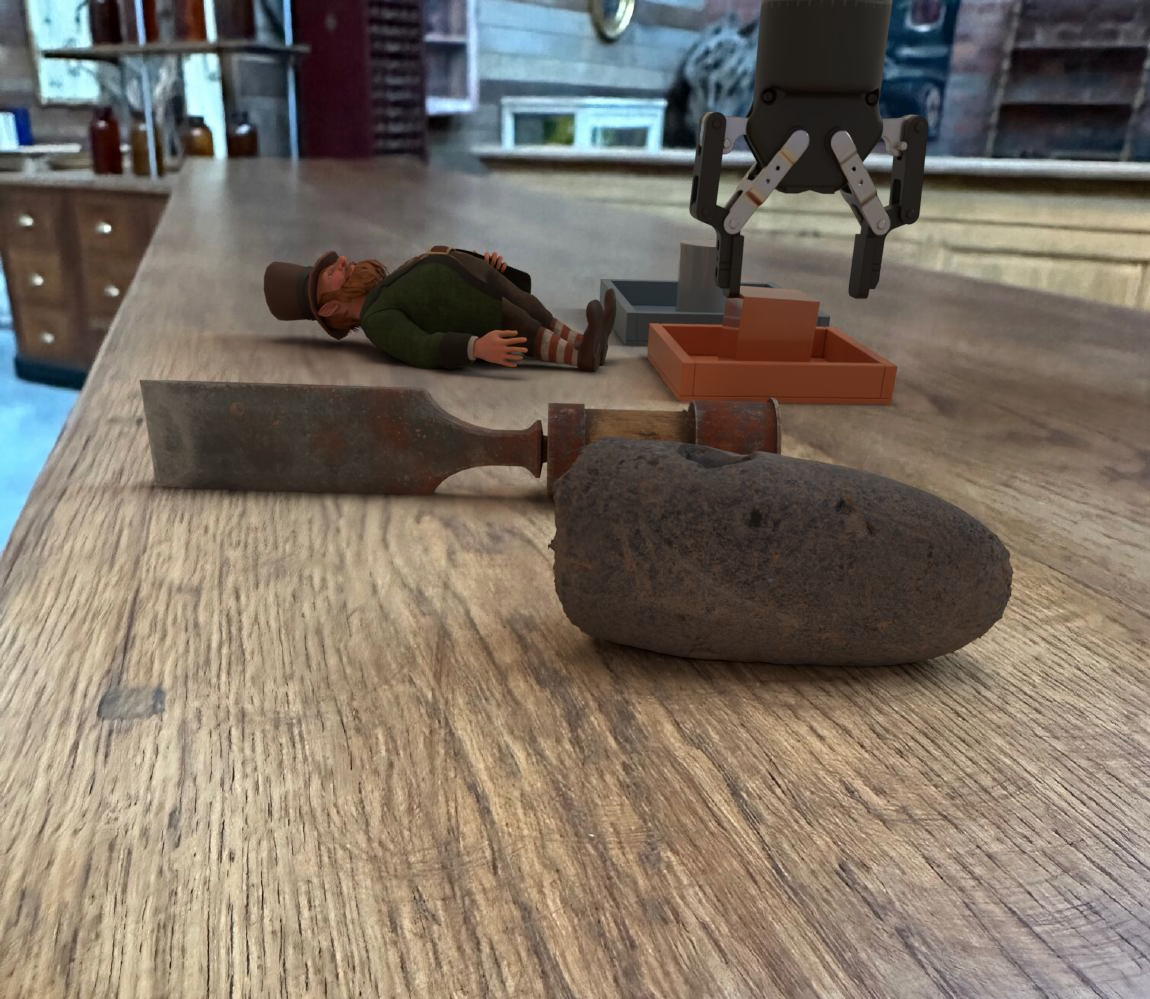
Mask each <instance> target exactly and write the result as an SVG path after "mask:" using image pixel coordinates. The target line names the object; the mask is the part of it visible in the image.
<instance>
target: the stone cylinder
mask: <svg viewBox="0 0 1150 999" xmlns="http://www.w3.org/2000/svg"><path fill="white" fill-rule="evenodd" d="M715 253H716V239H705V238H692V239H683V240H681V241H679V252H678V264H677V266H678V267H677V279H676V281H677V292H676V305H675V312H709V313H724V310H725V302H726V297H725V296H724V295H723V293H722V288H719V287H718V286H717V285H716V283H715V279H714V268H715Z"/></svg>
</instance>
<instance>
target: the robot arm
mask: <svg viewBox="0 0 1150 999" xmlns="http://www.w3.org/2000/svg"><path fill="white" fill-rule="evenodd" d="M892 7H893V0H760V9H759V23H758V37H757V46H756V47H757V48H756V57H755V58H756V59H755V72H754V82H753V96H752V102H751V106H750V108H749V110H748V111H747V114H746V116H736V115H735V116H733V115H725V114H723V113H722V112H720V111H706V112H705V111H704V113H703V114H701V116H700V117H699V120H698V128H697V135H696V136H697V138H696V146H695V153H694V154H695V155H694V165H693V172H692V179H691V190H690V200H689V207H688V210H689V215H690V216H691V217H692V218H693V219H694V220H696V221H699V222H701V223H703V224H706V225H708V226H710V227H712V228H713V230H714V231H715V234H716V239H715V240H716V253H715V268H714V279H715V283H716V285H717V286H718V287H719V288H722V293H723V295H724V296H725V297H726V298H739V294H740V284H741V282H742V270H743V259H744V247H745V235H743V234H741V231H742V229H743V228H744V226H745V225H746V224H747V223H748V221H749V220H750V219H751V218H752V216H753V215H754V214H755V212H756V211H757V210H758V208H759V207H760V206H762V205H763V204H764V203H765V202H766V201H767V200H768V198H769V197H770V196H771V195H772V193H773V192H774V190H776V191H777V192H779V193H782V194H785V195H786V194H787V195H789V194H790V195H791V194H792V195H798V194H801V193H802V194H803V193H806V192H809V191H810V192H814V193H818V194H820V195H821V194H822V195H835V194H836V193H837V192H838V191H839V193H840V195H841V196H842V198H843V200H844V201H845V202H846V204H848V206H849V207H850V209H851V211H852V213H853V215H854V217H855V219H856V221H857V223H858V224H859V226H860V230H859V231H860V232H859V233H855V235H854V241H853V251H852V257H851V266H850V274H849V281H848V289H847V290H848V296H849V297H851V298H853V299H855V300H867V299H868V297H869V295H870V290H876V288H877V286H878V284H879V282H880V277H881V276H880V275H881V270H882V263H883V255H884V248H885V243H886V239H887V236H888V234H889V233H890V232H891V231H893V230H895V229H898V228H900V227H902V226H905V225H907V226H908V225H913V224H915V223H916V222H917V221H918V220H919V218H920V215H921V204H922V195H923V185H924V175H925V166H926V165H925V164H926V156H927V155H926V154H927V145H928V135H929V120H928V119H927V117H925V116H924V115H919V114H905V115H902V116H901V117H898V118H897V117H896V118H882V115H881V112H880V104H879V103H880V102H879V101H880V95H881V91H882V84H883V83H882V82H883V75H884V67H885V59H886V52H887V45H888V36H889V29H890V24H891V23H890V22H891V14H892ZM741 136H743V139H744V141H745V143H746V145H747V146H748V149H749V150H750V153H751V155H752V156H753V158H754V160H755V161H754V163H753V164H752V166H750V168H749V169H748V171H747V172H746V173H745V175H744V176H743V178H742V179H741V180H740V182H739V183H738V184H737V186H736V189H735V191H734V193H733V194H732V195H731V196H730V198H729V199H728V200H727V202H726V203H725V204H724V205H723V207H722V206H721V205H719V204H717V203H718V195H719V187H720V180H721V171H722V163H723V155H724V156H725V155H728V154H730V153H731V152H732V151H733V149H734V147H735V144H736V141H737V140H738V138H740V137H741ZM881 139H882V140H883V141H884V144H885V151H886V153H887V154H888V155H889V156H890V157H892V164H891V165H892V166H891V174H890V186H889V187H890V188H889V198H888V205H885V206H884V204H883V203H882V201H881V200H880V198H879V196H878V190H877V188H876V186H875V184H874V181H873V180H872V178H871V176H870V174H869V172H868V170H867V168H866V166H865V164H864V162H865V160H866V159H867V158H868V156H869V155H870V154H871V153H872V151H873V150H874V148H875V147H876V146H877V144H878V143H879V142H880V141H881Z"/></svg>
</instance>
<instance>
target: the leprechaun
mask: <svg viewBox="0 0 1150 999" xmlns="http://www.w3.org/2000/svg"><path fill="white" fill-rule="evenodd" d="M503 259H504V256H502V255H498V252H497V251H493V252H492V254H490V253H489V252H488V251H485V252H484V254H481V253H478V251H477V250H476V249H474V250H467V249H461V248H454V247H452V246H451V247H449V246H447V245H433V246H430V247H429V248H428V249H427V251H426V252H424V253H422V254H418V255H417V256H416V255H415V256H414V257H412V258H411V257H410V258H409V259H408V260H406V261H404V262H403V263H402V264H400V265H399V266H398V267H396V268H395V269H394V270H393V271H392V272H391V273H390V272H389V268H388V267H387V266H386V265H384V264H383V263H381V262H380V261H379V260H377V259H371V258H369V259H365V260H362V261H361V260H360V261H358V262H356V261H349V262H348V259H347V257H346V256H344V255H340V256H339V255H338V253H337V252H336V251H335V250H330V251H326V252H325V253H324V254H322V255H321V256H320V257H318V258H317V259H316V262H315V263H314V265H313V266H312V265H307V266H305V265H300V264H297V263H291V262H284V261H272V262H271V263H270V264H269V265H267V267H266V268H265V272H264V275H263V294H264V298H265V303H266V305H267V308H268V310H269V312H270V314H271V315H273V317H274V318H275V319H276V320H278V321H280V322H281V321H282V322H293V321H311V322H314V321H317V323H318V325H319V326H320V327H321V328H322V329H323V330H324V331H325V333H326V334H327V335H328V336H330V337H331V338H334V339H335V340H336V341H341V340H342V339H344V338H346V337H347V336H349V334H353V332H354V333H355V334H359V333H361V331H362V332H363V334H364V335H365V337H366V338H367V339H368V340H369V341H370V342H371V343H372V344H373V345H374V346H376V347H377V348H379V349H381V350H382V351H384V352H386V353H387V354H389V356H391V357H392V358H394V359H397V360H399V361H401V362H404V363H406V364H408V365H410V366H411V367H414V368H417V369H442V368H445V369H448V370H457V369H460V368H462V367H465V366H468V365H472V364H474V363H475V361H476V360H477V359H481V360H483V361H486V362H489V363H492V364H498V365H502V366H505V367H509V368H516V367H517V363H515V362H512V361H513V360H514V361H521V360H523V358H524V357H523V356H526V357H528V358H532V359H535V358H536V359H537V360H540V361H544V362H548V363H549V362H550V363H555V364H564V365H569V366H572V367H577V369H579V370H582V371H585V372H593V373H595V372H597V371H598V370H599V369H600V366H603V365H604V364H605V362H606V359H607V354H608V350H609V344H608V342H609V338H610V335H611V333H612V331H613V330H614V328H613V326H614V322H615V317H616V296H615V291H614V289H613V288H610V289H608V290H607V291H606V293H605V296H604V311H603V308H602V305H601V303H600V300H598V299H591V301H589V302H588V303H587V305H586V308H585V316H586V321H587V326H586V328H585V330H584V332H583V333H579V332H578V331H575V330H573V329H572V328H570V326H567V324H565V323H563V322H562V321H561V320H560V319H558V318H556V317H554V316H553V314H552V312H551V311H550V310H549V309H547V308H546V307H545V305H544V304H543V303H542V302H541V301H540V300H539V298H538V297H536V296H535V295H533V294H532V277H531V275H530V274H529V272H526V271H523V270H521V269H518V268H515V267H513V266H510V265H508V263H507V262H506V261H504V260H503ZM359 329H361V330H359ZM514 353H520V354H522V355H523V356H522V355H518V354H514ZM509 360H510V361H509ZM511 360H512V361H511Z"/></svg>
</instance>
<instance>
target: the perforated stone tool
mask: <svg viewBox="0 0 1150 999" xmlns="http://www.w3.org/2000/svg"><path fill="white" fill-rule="evenodd" d="M553 492H554V495H553V498H552V500H553V502H554V505H555V509H554V526H555V529H556V530H555V535H554V536H553V539H551V540H550V543H549V542H548V544H547V551H549V550H550V549H551V550H552V551H553V554H554V556H553V559H554V562H553V565H552V570H553V575H554V579H553V583H554V591H555V594H556V595H557V597H558V601H559V603H561V606H562V611H563V613H564V614H565V617H566V618H567V619H568V621H569V622H570V623H571V625H572V626H574V627H576V628H578V629H579V631H580V632H581V633H583V634H584V635H585V634H586V636H589V637H592V638H596V639H600V640H603V641H608V642H611V643H615V644H619V645H623V646H627V647H628V646H629V647H633V648H637V649H641V650H646V651H647V650H649V651H652V652H654V653H658V654H663V655H667V656H675V657H679V658H680V657H681V658H687V659H697V660H709V661H715V660H723V661H729V662H740V663H769V664H771V665H801V666H802V665H814V666H815V665H816V666H823V667H824V666H826V667H827V666H828V667H833V666H834V667H839V666H841V667H842V666H843V667H878V666H894V665H903V664H911V663H919V662H923V661H927V660H930V659H931V660H932V659H935V658H940V657H943V656H946V655H949V654H952V653H954V652H956V651H958V650H960V649H963V648H965V647H966V646H968V645H969V644H971V643H972V642H974V641H976V640H978V639H982V637H983V636H984V635H986V634H987V633H988V632H989V630H991V629H992V628H993V627H994V625H995V624H996V623H997V622H999V621H1001V620H1002V619H1003V617H1004V616H1003V615H1004V613H1005V611H1006V608H1007V606H1008V603H1009V602H1010V598H1011V597H1012V592H1013V588H1012V585H1013V575H1014V567H1013V566H1012V565H1011V562H1010V559H1011V552H1010V550H1009V549H1008V548H1007V547H1006V546H1005V544H1004V542H1002V540H1001V539H1000V538H999V536H998V535H997V534H996V533H994V532H993V531H992V530H990V528H988V527H987V526H986V525H985V524H983V523H982V522H981V521H980V520H978V519H977V518H975V517H974V516H973V515H971V514H970V513H968V512H967V511H965V510H964V509H962V508H960V507H959V506H957V505H955V504H953V503H951V502H949V501H947V500H945V499H944V498H942V497H939V496H937V495H935V494H933V493H931V492H928V491H926V490H924V489H921V488H918V487H915V486H913V485H909V484H908V483H904V482H901V481H899V480H896V479H893V478H890V477H887V476H884V475H883V476H882V475H879V474H876V473H872V472H869V471H866V470H861V469H857V468H854V467H849V466H845V465H841V464H833V463H829V462H824V461H819V460H812V459H806V458H800V457H794V456H790V455H789V456H788V455H784V454H781V455H779V454H774V453H768V452H762V451H755V452H753V453H752V454H749V455H740V454H737V453H733V452H729V451H723V450H720V449H716V448H712V447H708V446H701V445H695V444H686V443H680V442H674V441H656V440H642V439H635V438H619V437H602V438H601V439H598V440H596V441H594V443H592V444H589V445H587V446H585V447H584V448H583V450H582V451H581V452H580V454H579V455H578V458H577V459H576V460H575V462H574V463H573V464H572V465H571V467H570V469H569V470H568V471H567V472H566V473H564V474H563V475H562V476H561V477H560V478H559V479H557V480H556V481H555V483H554V485H553Z"/></svg>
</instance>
